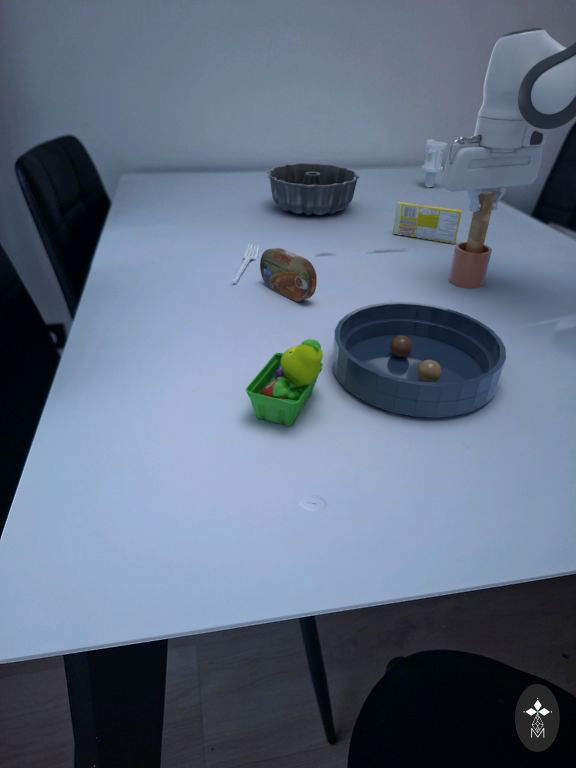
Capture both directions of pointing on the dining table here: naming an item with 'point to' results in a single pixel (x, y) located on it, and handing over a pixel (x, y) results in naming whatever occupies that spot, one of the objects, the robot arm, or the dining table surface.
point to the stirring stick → (480, 223)
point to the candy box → (427, 222)
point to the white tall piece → (433, 160)
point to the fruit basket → (286, 383)
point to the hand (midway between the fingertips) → (482, 210)
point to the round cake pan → (417, 359)
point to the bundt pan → (312, 187)
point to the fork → (246, 260)
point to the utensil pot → (469, 267)
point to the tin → (288, 274)
